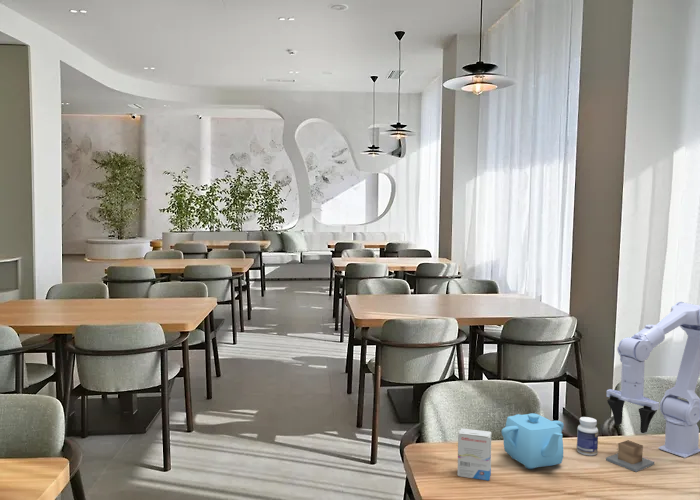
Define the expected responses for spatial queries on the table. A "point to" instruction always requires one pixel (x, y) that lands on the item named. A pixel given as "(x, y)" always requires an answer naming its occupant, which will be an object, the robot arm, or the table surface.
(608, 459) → the slate coaster
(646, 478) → the table surface
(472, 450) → the ink box
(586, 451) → the pill bottle
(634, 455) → the walnut cube
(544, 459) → the teapot
